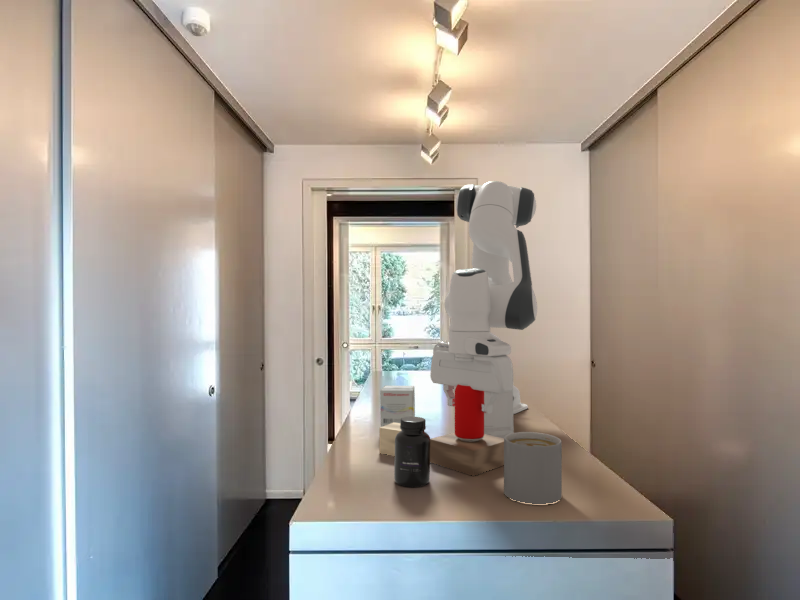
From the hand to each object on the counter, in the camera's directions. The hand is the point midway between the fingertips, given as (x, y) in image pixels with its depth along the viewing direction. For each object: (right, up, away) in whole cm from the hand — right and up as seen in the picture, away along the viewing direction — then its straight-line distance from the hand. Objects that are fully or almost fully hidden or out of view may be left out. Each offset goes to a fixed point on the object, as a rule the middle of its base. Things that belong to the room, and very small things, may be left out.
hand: (469, 409), depth 111 cm
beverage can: (0, -7, 0) cm, 7 cm away
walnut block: (0, -11, 0) cm, 11 cm away
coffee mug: (+9, -12, -17) cm, 22 cm away
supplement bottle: (-12, -12, -12) cm, 21 cm away
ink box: (-15, -12, +27) cm, 33 cm away
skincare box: (+9, -12, +21) cm, 26 cm away
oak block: (-15, -12, +7) cm, 21 cm away
